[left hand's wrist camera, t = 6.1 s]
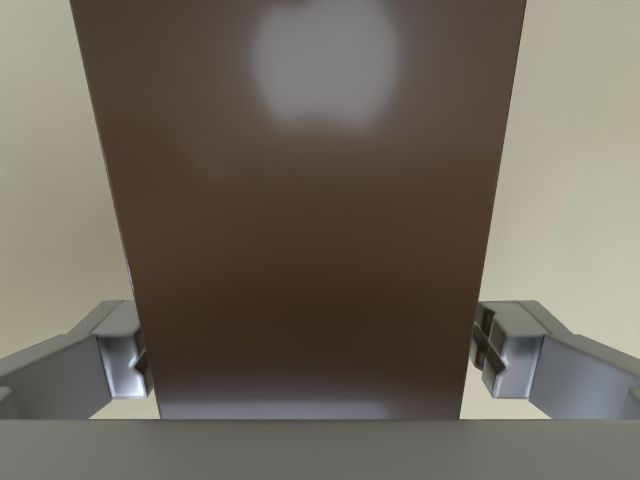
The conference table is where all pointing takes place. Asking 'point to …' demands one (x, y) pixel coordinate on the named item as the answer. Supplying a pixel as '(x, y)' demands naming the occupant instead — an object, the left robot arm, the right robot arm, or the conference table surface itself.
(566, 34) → the conference table surface
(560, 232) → the conference table surface
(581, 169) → the conference table surface
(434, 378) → the bar
